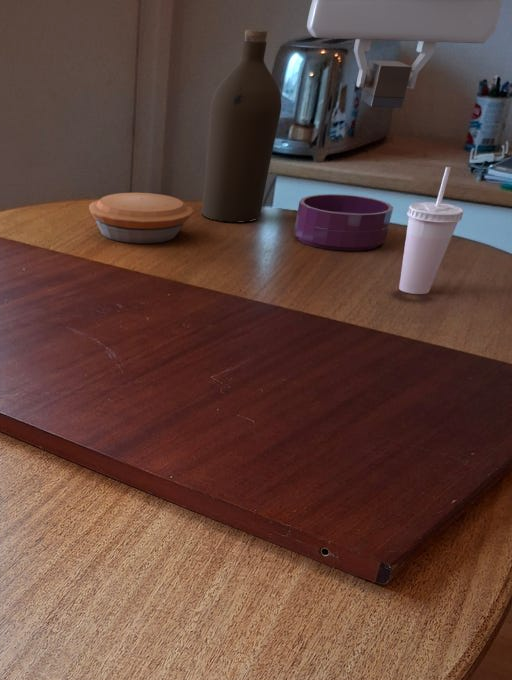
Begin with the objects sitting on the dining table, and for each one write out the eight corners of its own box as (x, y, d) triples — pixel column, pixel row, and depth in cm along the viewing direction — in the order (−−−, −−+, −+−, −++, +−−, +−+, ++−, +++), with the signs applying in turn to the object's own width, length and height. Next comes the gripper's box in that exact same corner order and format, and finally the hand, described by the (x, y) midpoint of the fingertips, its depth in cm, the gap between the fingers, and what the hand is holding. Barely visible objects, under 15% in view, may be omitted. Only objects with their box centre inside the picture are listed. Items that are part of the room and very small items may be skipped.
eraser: (360, 99, 106) (369, 60, 103) (389, 100, 106) (399, 61, 103) (371, 106, 101) (380, 65, 99) (402, 108, 101) (412, 66, 98)
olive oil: (271, 224, 139) (303, 33, 124) (205, 224, 138) (229, 32, 123) (253, 208, 147) (281, 28, 132) (191, 208, 147) (212, 27, 131)
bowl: (373, 230, 137) (382, 195, 133) (392, 253, 126) (402, 216, 123) (287, 227, 137) (294, 192, 134) (300, 250, 127) (307, 212, 124)
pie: (148, 254, 124) (151, 215, 121) (66, 233, 133) (68, 197, 130) (210, 234, 133) (214, 199, 130) (130, 217, 142) (133, 182, 139)
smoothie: (445, 288, 113) (481, 167, 105) (432, 300, 109) (469, 175, 101) (396, 279, 116) (426, 161, 108) (381, 291, 112) (412, 169, 103)
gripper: (327, -68, 92) (299, 87, 100) (527, -62, 91) (481, 94, 99) (316, -67, 97) (290, 81, 105) (506, -62, 96) (464, 87, 104)
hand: (384, 87), depth 102 cm, fingers closed on eraser, 3 cm apart
